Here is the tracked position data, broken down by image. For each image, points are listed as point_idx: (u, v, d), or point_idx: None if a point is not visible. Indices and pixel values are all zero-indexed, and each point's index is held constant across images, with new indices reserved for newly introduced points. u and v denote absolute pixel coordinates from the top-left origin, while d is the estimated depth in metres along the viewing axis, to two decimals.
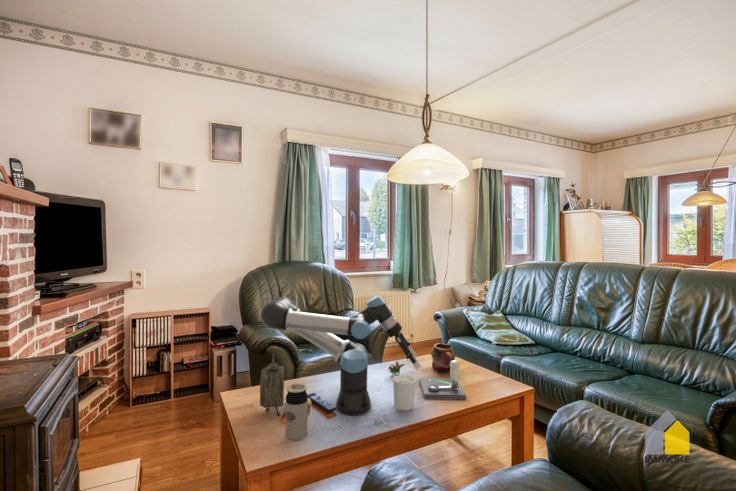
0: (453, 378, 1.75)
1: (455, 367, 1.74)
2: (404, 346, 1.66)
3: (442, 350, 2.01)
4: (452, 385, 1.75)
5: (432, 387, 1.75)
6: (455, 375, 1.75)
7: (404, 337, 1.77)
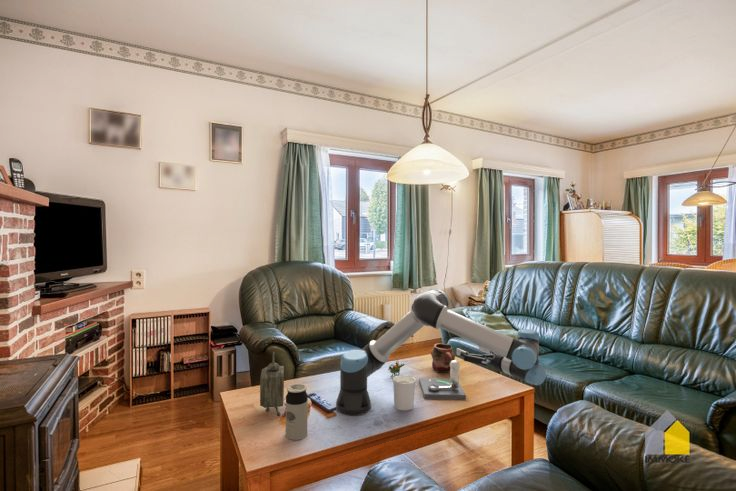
0: (453, 378, 1.75)
1: (455, 367, 1.74)
2: (475, 361, 1.54)
3: (442, 350, 2.01)
4: (452, 385, 1.75)
5: (432, 387, 1.75)
6: (455, 375, 1.75)
7: None
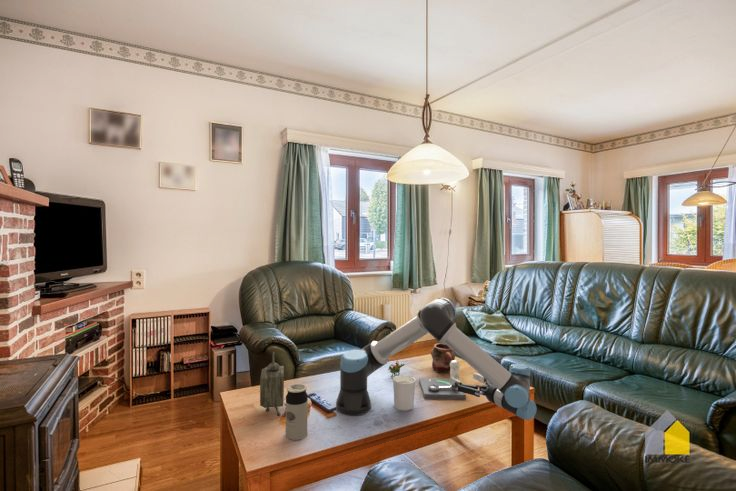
0: None
1: (455, 367, 1.74)
2: (468, 392, 1.58)
3: (442, 350, 2.01)
4: (452, 385, 1.75)
5: (432, 387, 1.75)
6: (455, 375, 1.75)
7: None
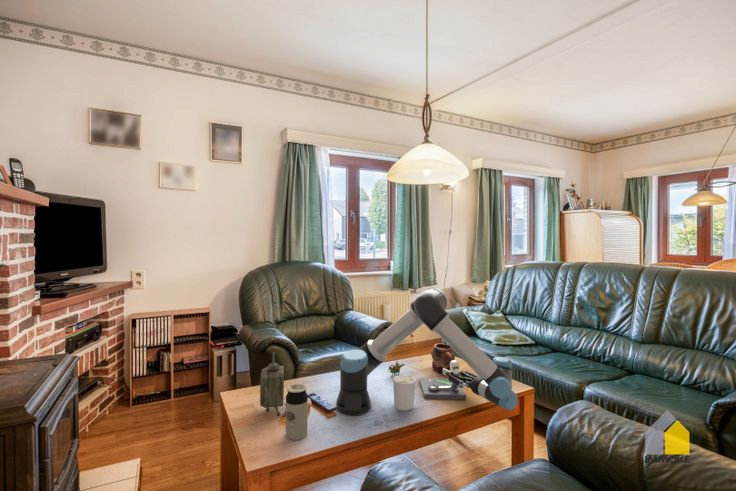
0: None
1: (455, 367, 1.74)
2: (455, 382, 1.68)
3: (442, 350, 2.01)
4: (452, 385, 1.75)
5: (432, 387, 1.75)
6: None
7: None
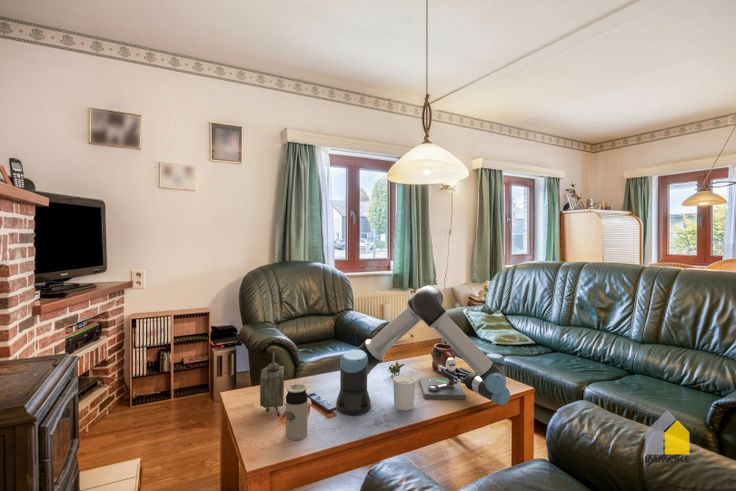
0: None
1: (453, 365, 1.78)
2: (450, 378, 1.72)
3: (442, 350, 2.01)
4: (450, 382, 1.78)
5: (433, 387, 1.75)
6: None
7: None
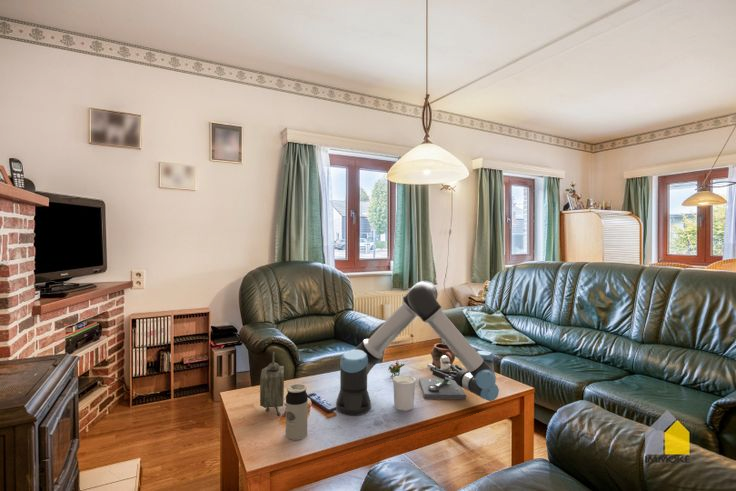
0: None
1: (448, 362, 1.81)
2: (440, 376, 1.74)
3: (442, 350, 2.01)
4: (445, 380, 1.81)
5: (434, 387, 1.75)
6: (448, 370, 1.82)
7: None
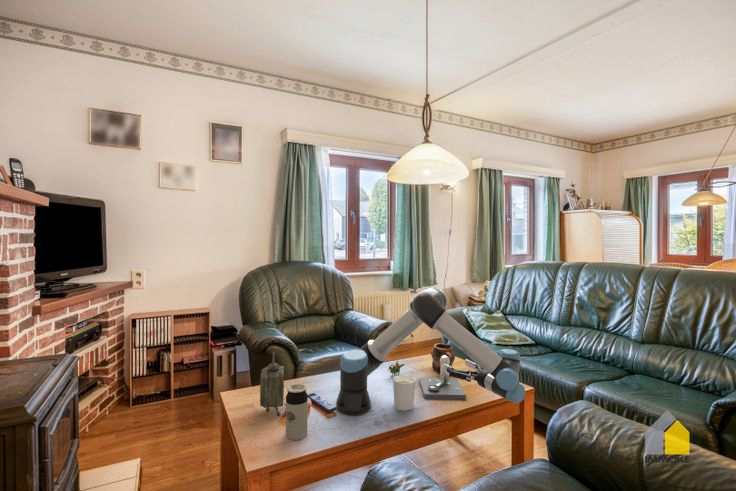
0: (446, 373, 1.81)
1: (448, 362, 1.81)
2: (460, 377, 1.62)
3: (442, 350, 2.01)
4: (445, 380, 1.81)
5: (434, 387, 1.75)
6: None
7: None
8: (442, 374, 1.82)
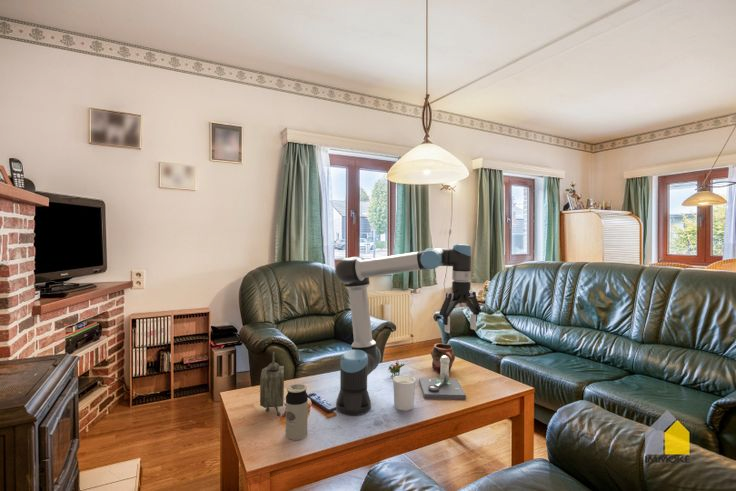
0: (446, 373, 1.81)
1: (448, 362, 1.81)
2: (445, 303, 1.54)
3: (442, 350, 2.01)
4: (445, 380, 1.81)
5: (434, 387, 1.75)
6: (448, 370, 1.82)
7: (469, 302, 1.57)
8: (442, 374, 1.82)
